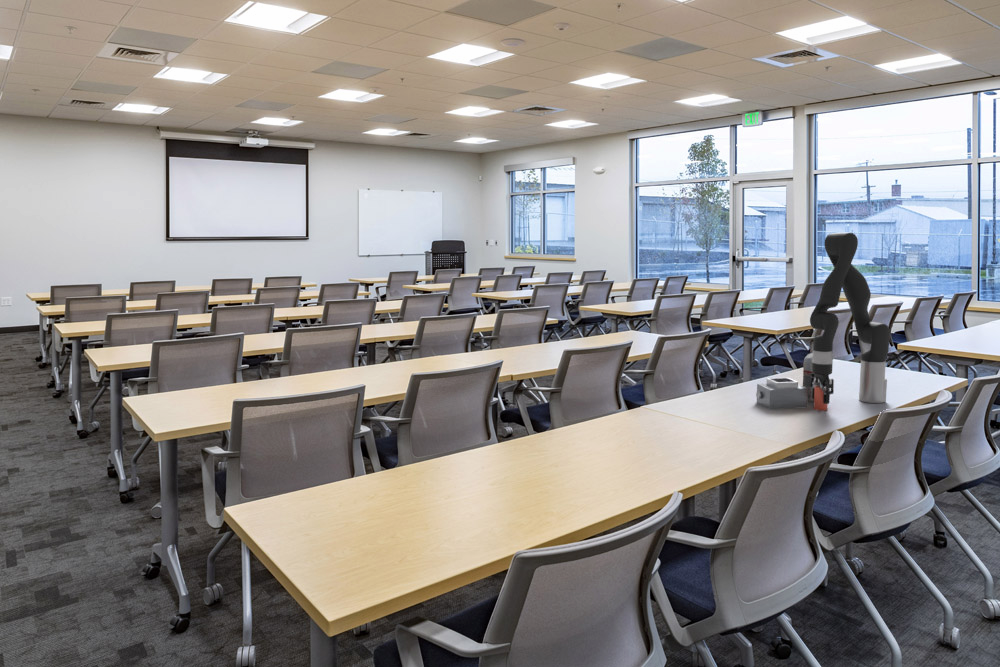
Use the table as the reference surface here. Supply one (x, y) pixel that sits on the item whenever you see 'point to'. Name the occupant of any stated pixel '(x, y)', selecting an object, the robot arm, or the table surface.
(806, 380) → the spray can
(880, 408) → the table surface
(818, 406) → the oil can
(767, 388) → the gearbox
